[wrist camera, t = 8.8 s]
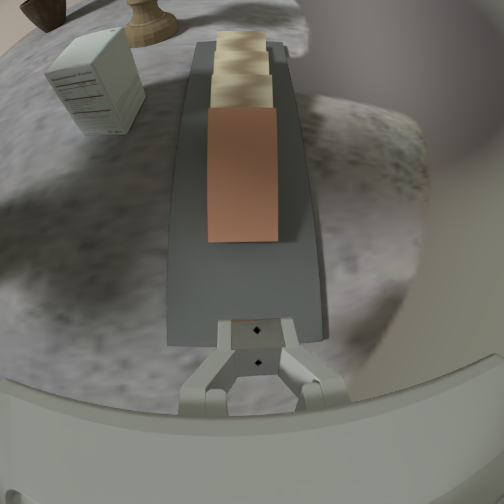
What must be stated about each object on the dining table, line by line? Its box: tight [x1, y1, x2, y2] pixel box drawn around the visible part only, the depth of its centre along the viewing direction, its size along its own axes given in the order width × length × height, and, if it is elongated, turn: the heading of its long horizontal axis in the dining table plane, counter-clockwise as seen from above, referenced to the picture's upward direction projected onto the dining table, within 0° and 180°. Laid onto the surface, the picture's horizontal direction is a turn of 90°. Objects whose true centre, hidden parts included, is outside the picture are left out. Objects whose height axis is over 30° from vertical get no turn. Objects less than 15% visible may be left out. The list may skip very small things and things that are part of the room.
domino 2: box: [213, 51, 269, 75], centre depth 26 cm, size 6×2×12 cm
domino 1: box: [216, 31, 266, 52], centre depth 27 cm, size 6×2×12 cm
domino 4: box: [207, 107, 278, 242], centre depth 23 cm, size 6×2×12 cm
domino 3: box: [210, 74, 273, 108], centre depth 25 cm, size 6×2×12 cm
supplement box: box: [44, 27, 146, 135], centre depth 24 cm, size 7×7×13 cm
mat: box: [167, 41, 323, 347], centre depth 29 cm, size 14×44×1 cm, turn 2°
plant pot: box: [20, 0, 66, 33], centre depth 33 cm, size 15×15×16 cm
